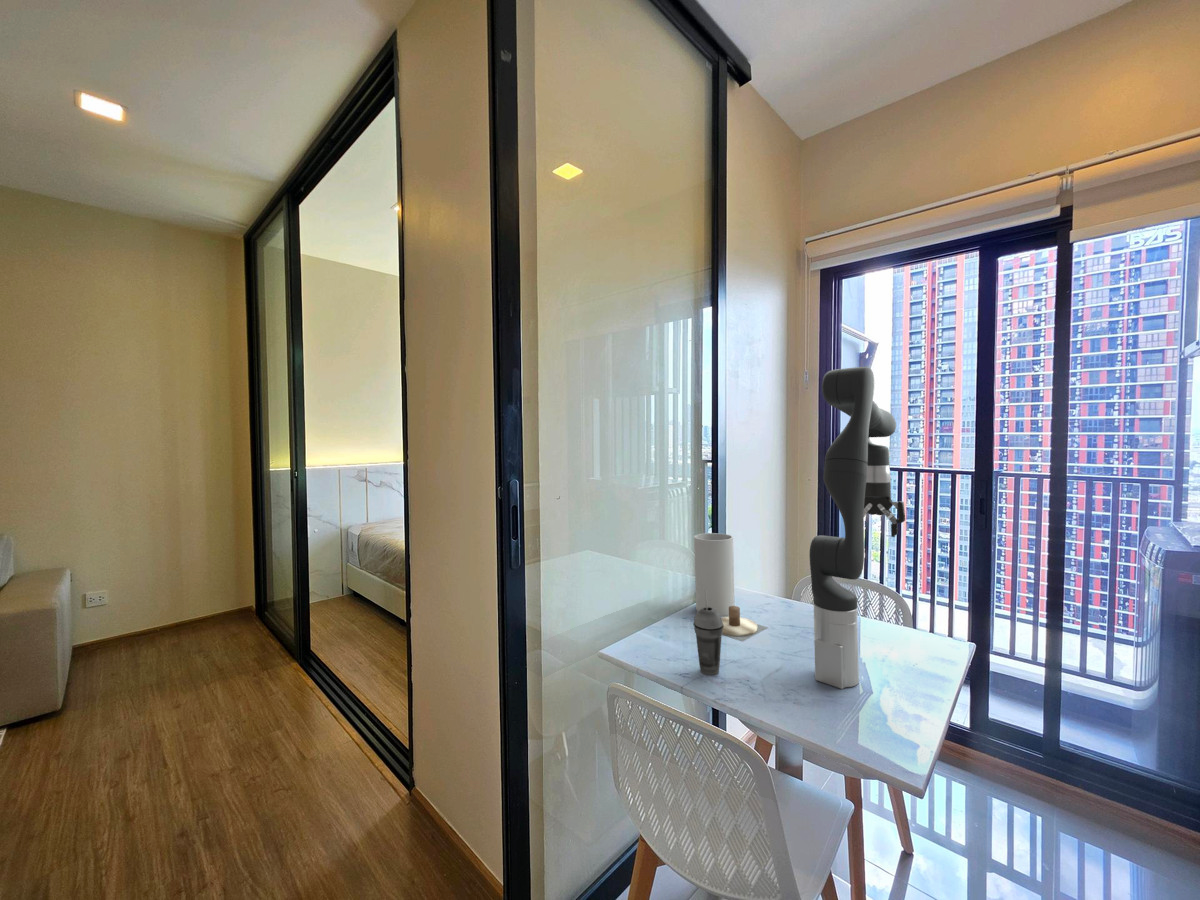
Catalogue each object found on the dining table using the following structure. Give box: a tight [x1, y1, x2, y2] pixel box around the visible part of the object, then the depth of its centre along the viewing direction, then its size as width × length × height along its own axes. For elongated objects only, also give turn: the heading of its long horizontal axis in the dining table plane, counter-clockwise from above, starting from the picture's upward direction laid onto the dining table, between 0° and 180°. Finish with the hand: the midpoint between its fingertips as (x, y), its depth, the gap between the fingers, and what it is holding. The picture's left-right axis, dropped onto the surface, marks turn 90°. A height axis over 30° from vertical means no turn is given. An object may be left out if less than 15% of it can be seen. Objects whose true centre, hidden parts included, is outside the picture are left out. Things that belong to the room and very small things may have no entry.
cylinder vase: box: [693, 532, 736, 617], centre depth 158 cm, size 12×12×25 cm
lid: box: [721, 605, 757, 636], centre depth 142 cm, size 13×13×6 cm
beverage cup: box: [692, 589, 724, 677], centre depth 117 cm, size 7×7×20 cm
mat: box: [722, 616, 769, 642], centre depth 142 cm, size 14×14×1 cm
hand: (876, 535), depth 141 cm, fingers open, 8 cm apart
